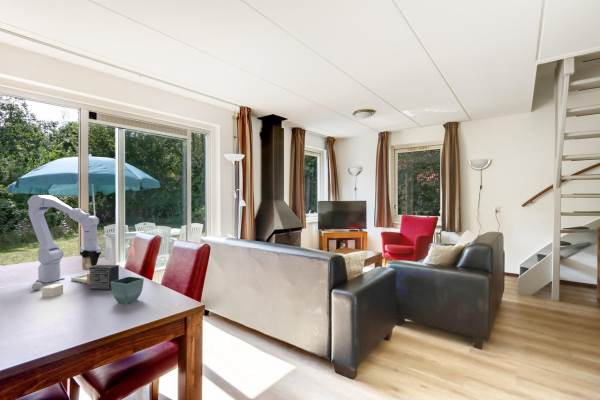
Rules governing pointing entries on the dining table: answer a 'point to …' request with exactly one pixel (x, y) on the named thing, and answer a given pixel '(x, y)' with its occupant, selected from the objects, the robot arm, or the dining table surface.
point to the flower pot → (127, 289)
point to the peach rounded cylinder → (88, 279)
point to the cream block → (52, 290)
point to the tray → (80, 278)
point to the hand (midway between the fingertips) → (90, 265)
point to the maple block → (86, 263)
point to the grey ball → (37, 286)
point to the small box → (103, 276)
